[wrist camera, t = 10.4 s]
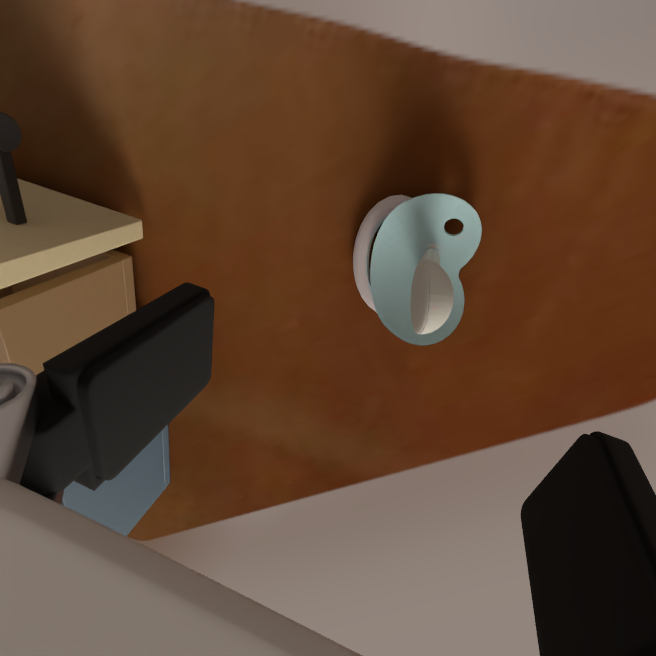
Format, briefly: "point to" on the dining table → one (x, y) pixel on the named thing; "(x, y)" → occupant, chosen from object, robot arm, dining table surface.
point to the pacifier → (416, 264)
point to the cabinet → (125, 489)
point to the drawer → (57, 265)
